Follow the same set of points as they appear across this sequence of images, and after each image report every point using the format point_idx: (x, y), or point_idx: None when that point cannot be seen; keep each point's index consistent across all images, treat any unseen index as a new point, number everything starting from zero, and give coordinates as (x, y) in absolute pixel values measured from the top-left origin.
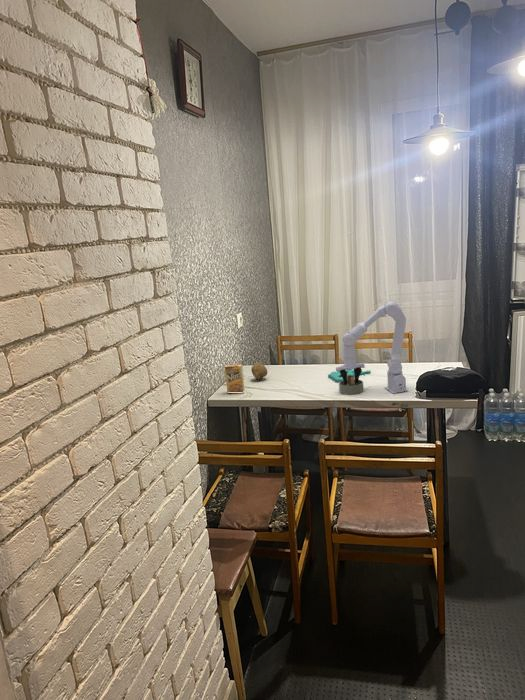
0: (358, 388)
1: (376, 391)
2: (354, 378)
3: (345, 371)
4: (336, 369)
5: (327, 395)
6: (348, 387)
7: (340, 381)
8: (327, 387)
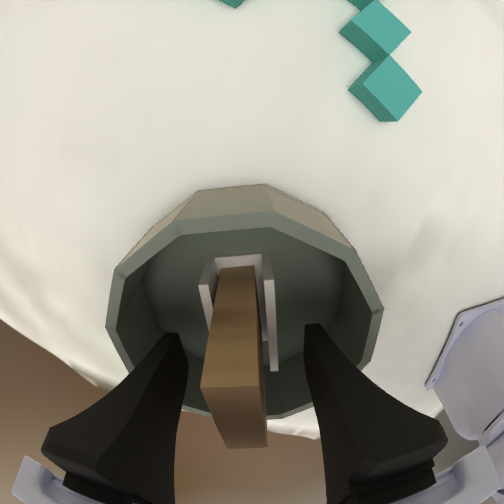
0: (277, 396)
1: (396, 348)
2: (386, 19)
3: (150, 502)
4: (30, 482)
5: (63, 308)
6: (193, 401)
7: (120, 270)
8: (62, 115)
